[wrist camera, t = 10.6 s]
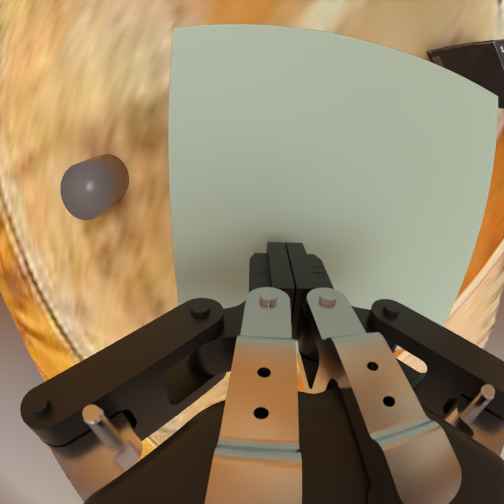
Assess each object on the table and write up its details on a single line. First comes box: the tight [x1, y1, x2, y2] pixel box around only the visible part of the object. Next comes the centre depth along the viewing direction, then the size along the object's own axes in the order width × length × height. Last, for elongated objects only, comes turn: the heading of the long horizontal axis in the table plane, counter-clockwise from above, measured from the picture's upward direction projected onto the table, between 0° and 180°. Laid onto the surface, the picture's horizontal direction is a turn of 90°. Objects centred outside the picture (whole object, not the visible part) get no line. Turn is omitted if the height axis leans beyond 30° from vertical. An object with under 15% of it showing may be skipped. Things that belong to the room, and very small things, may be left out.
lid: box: [168, 24, 498, 356], centre depth 13 cm, size 18×18×1 cm
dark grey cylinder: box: [61, 154, 129, 220], centre depth 23 cm, size 5×5×5 cm
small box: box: [428, 39, 504, 109], centre depth 14 cm, size 11×6×10 cm, turn 118°
